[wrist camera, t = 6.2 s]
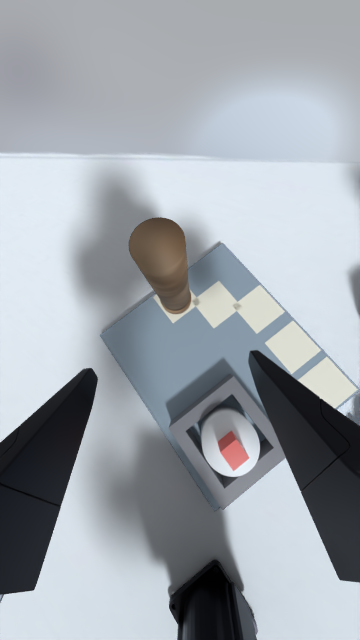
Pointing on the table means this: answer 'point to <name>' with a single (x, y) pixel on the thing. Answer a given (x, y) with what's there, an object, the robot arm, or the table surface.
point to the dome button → (229, 441)
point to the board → (218, 364)
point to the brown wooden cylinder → (163, 261)
